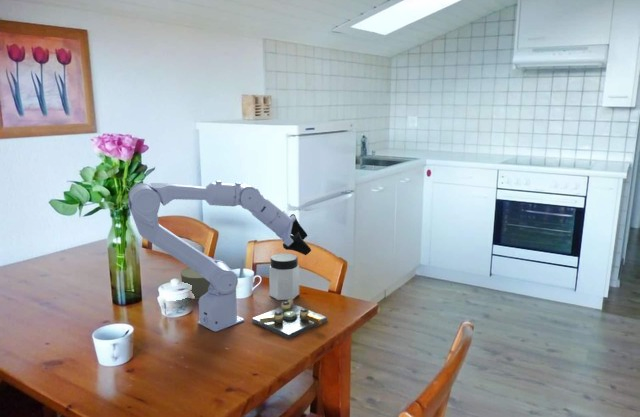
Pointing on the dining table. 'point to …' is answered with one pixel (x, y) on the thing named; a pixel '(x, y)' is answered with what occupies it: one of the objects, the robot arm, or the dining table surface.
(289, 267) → the jar
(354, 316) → the dining table surface
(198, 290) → the can
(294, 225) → the robot arm
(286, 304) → the back footscrew
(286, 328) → the plate
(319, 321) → the front footscrew
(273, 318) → the left footscrew
